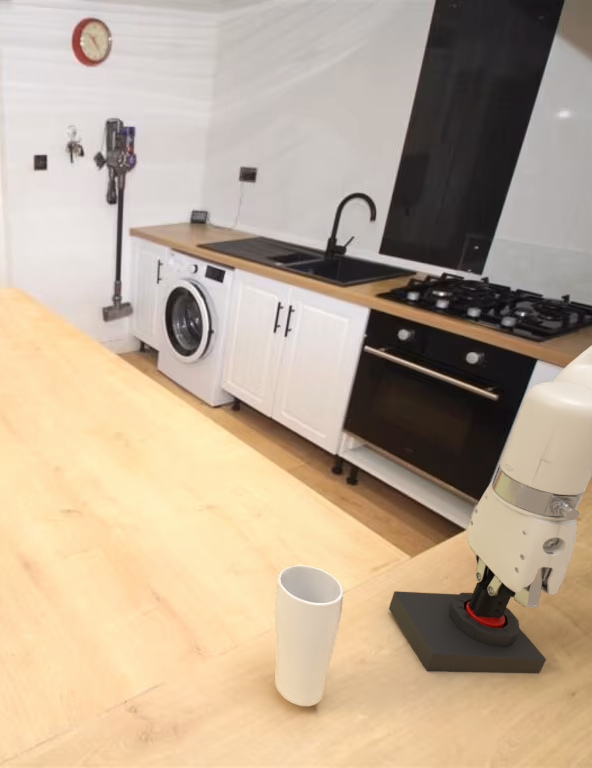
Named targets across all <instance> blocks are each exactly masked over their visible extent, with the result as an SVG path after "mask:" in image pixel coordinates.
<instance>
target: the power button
mask: <svg viewBox="0 0 592 768" xmlns="http://www.w3.org/2000/svg"><path fill="white" fill-rule="evenodd" d="M465 610H466V612H467V613H468V614H469V616H470V617H472V618H473V619H475V620H476V621H478V622H479V623H481V624H484V625H486V626H489V627H492V628H502V627H503V625H504V623H505V617H504V615H503V616H502V617H500V618H498V617H478V616H476V615H475V613H474V610H472V609H471V608H470V607H469V602H468V603H467V606H466V608H465Z"/></svg>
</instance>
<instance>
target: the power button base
mask: <svg viewBox="0 0 592 768" xmlns="http://www.w3.org/2000/svg"><path fill="white" fill-rule="evenodd" d="M472 594H473V592H460V593H440V592H439V593H437V592H416V591H398V590H397V591H393V594H392V597H391V601H390V604H389V607H388V609H389V611H390V613H391V615H392V617H393V618H394V620H395V621H396V623H397V625H398V627H399V628H400V630H401V632H402V633H403V635H404V636H405V638H406V639H407V641H408V643H409V645H410V646H411V648H412V650H413V652H414V653H415V655H416V657H417V659H418V660H419V661H420V663H421V665H422V666H423V668H424V669H425V671H426V672H433V673H435V672H436V673H437V672H441V673H489V674H490V673H491V674H492V673H493V674H540V673H541V671H542V668H544V665H545V663H546V661H547V658H546V657H545V656H544V655H543V653H541V652H540V650H539V649H538V648H537V646H535V644H534V643H533V642H532V641H531V640H530V639H529V637H528V636H527V635H526V634H525V632H524V631H523V630H522V629H521V628H520V621H519V619H518V618H517V617H516V615H515V614H514V613H513V612H512V611H511V610H510V608H509V607H506V609H505V611H504V614H503V615H504V617H505V623H504V625H503V627H502V628H492V627H489V626H486V625H484V624H481V623H479V622H478V621H476V620H475V619H473V618H472V617H470V616H469V614H468V613H467V612H466V610H465V608H466V606H467V603H468V602H470V599H471V597H472Z"/></svg>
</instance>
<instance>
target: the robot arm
mask: <svg viewBox="0 0 592 768" xmlns="http://www.w3.org/2000/svg"><path fill="white" fill-rule="evenodd" d="M500 459H501V460H500V462H499V464H498V468H497V470H496V473H495V475H494V478H493V480H492V481H491V482H490V483H489V485H488V486H487V487H486V489H485V491H484V492H483V493H482V496H481V498H480V499H479V501H478V503H477V505H476V507H475V509H474V511H473V514H472V515H471V518H470V521H469V524H468V526H467V530H466V536H465V539H466V541H467V543H468V545H469V548H470V549H471V551H472V553H473V554H474V556H475V560H476V564H477V566H476V570H475V576H474V577H475V580H476V581H477V582H476V585H475V587H474V589H473V592H472V593H473V594H472V597H471V599H470V602H469V607H470V608H471V609H472V610H474V613H475V615H476V616H478V617H498V618H500V617H502V616H503V614H504V611H505V609H506V608H508V604H509V602H510V599H511V598H512V599H513V600H514V601H515V602H516V603H518V604H519V605H521V606H522V607H524V608H538V607H539V602H540V597H541V593H542V592H544V593H546V594H547V595H548V596H555V595H556V594H557V593H558V591H559V590H560V588H561V585H562V583H563V581H564V578H565V576H566V573H567V570H568V568H569V565H570V562H571V559H572V556H573V552H574V549H575V544H576V539H577V530H578V521H577V520H576V519H578V517H579V516H580V512H579V510H578V509H577V508H578V507H579V505H580V502H581V501H582V498H583V496H584V494H585V492H586V489H587V487H588V485H589V483H590V481H591V478H592V344H590V346H589V347H588V348H586V349H585V350H584V351H582V353H581V352H580V354H578V355H577V356H576V357H575V358H574V359H573V360H572V361H570V362H569V363H568V364H567V365H565V367H564V368H563V369H562V370H561V371H559V373H557V375H556V376H555V377H554V379H553V380H552V381H543V382H539V383H536V384H534V385H533V386H531V387H530V388H529V389H528V390H527V392H526V394H525V396H524V398H523V401H522V403H521V406H520V408H519V411H518V414H517V416H516V420H515V421H514V425H513V428H512V430H511V432H510V436H509V438H508V441H507V444H506V446H505V449H504V451H503V454H502V457H501V458H500Z"/></svg>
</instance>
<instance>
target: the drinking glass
mask: <svg viewBox="0 0 592 768" xmlns="http://www.w3.org/2000/svg"><path fill="white" fill-rule="evenodd" d="M343 599H344V588H343V586H342V583H341V582H340V581H339V580H338V579H337V577H335V576H334V575H333V574H331V573H330V572H328V571H326V570H324V569H322V568H319V567H316V566H312V565H307V564H295V565H290V566H286V567H285V568H283V569H282V570H281V571H280V572H279V574H278V576H277V581H276V588H275V597H274V645H275V646H274V647H275V653H274V655H275V671H274V684H275V687H276V690H277V691H278V693H279V694H280V695H281V697H283V698H284V699H285V700H286V701H288V702H289V703H292V704H293V705H296V706H299V707H313V706H315V705H317V704H319V703H320V702H321V701H322V698H323V697H324V692H325V686H326V681H327V677H328V673H329V668H330V664H331V660H332V656H333V653H334V649H335V645H336V641H337V638H338V633H339V629H340V626H341V620H342V614H343V613H342V612H343V606H344V605H343V604H344V602H343V601H344V600H343Z"/></svg>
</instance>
